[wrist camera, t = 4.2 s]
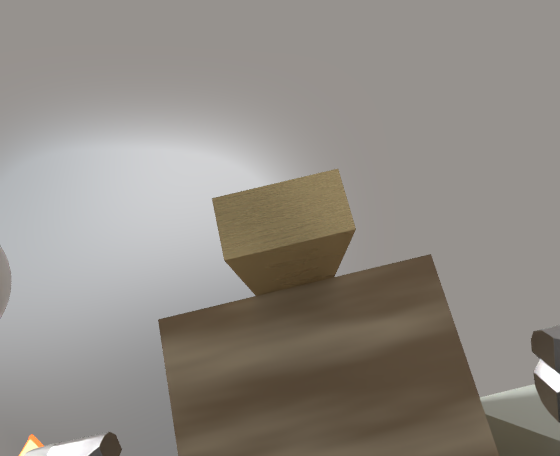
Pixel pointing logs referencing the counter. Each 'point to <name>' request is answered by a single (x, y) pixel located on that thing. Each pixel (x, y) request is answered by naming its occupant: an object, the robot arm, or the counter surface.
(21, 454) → the orange juice
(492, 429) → the pale grey block
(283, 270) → the tan long flat block
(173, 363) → the oak pedestal
